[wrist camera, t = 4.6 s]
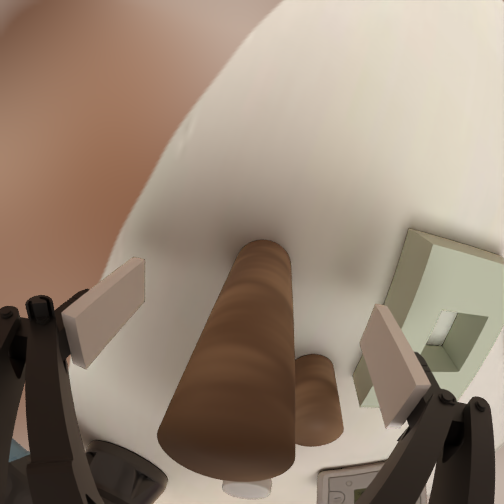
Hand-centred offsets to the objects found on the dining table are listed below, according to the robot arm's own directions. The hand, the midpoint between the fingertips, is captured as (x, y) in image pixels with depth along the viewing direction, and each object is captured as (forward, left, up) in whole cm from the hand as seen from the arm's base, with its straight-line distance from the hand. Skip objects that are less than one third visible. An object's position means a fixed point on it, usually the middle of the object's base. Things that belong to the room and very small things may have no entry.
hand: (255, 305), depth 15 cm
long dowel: (0, 0, -6) cm, 6 cm away
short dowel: (+6, -9, -6) cm, 12 cm away
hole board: (+15, -2, -6) cm, 17 cm away
